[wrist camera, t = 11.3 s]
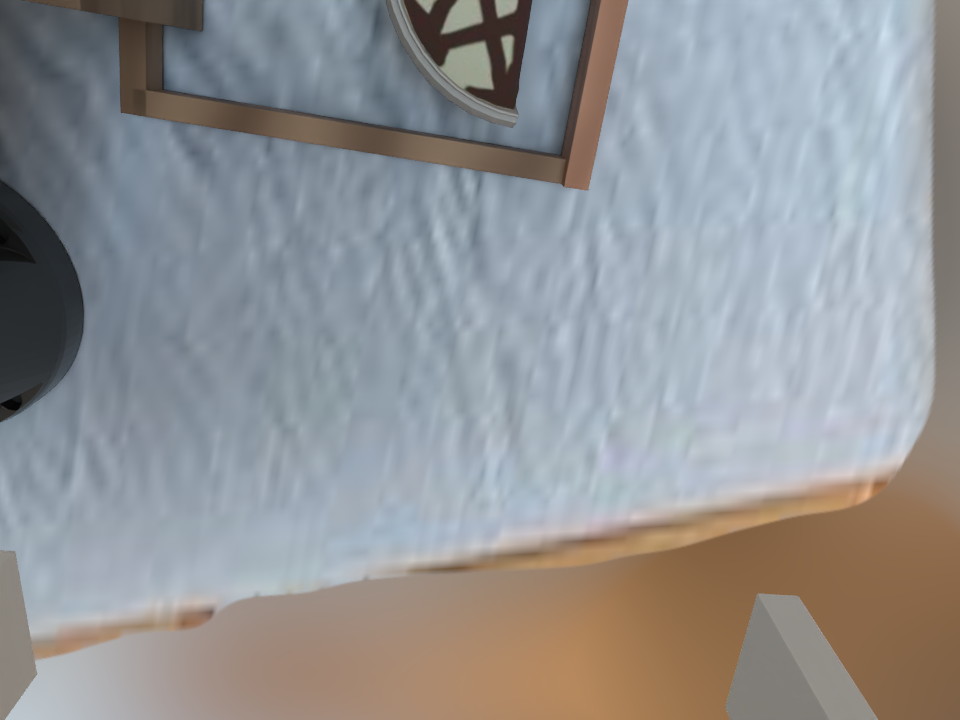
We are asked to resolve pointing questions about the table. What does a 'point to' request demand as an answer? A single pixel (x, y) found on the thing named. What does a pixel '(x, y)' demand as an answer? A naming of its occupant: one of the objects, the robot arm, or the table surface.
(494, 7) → the food container
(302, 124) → the walnut bed frame
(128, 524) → the table surface
